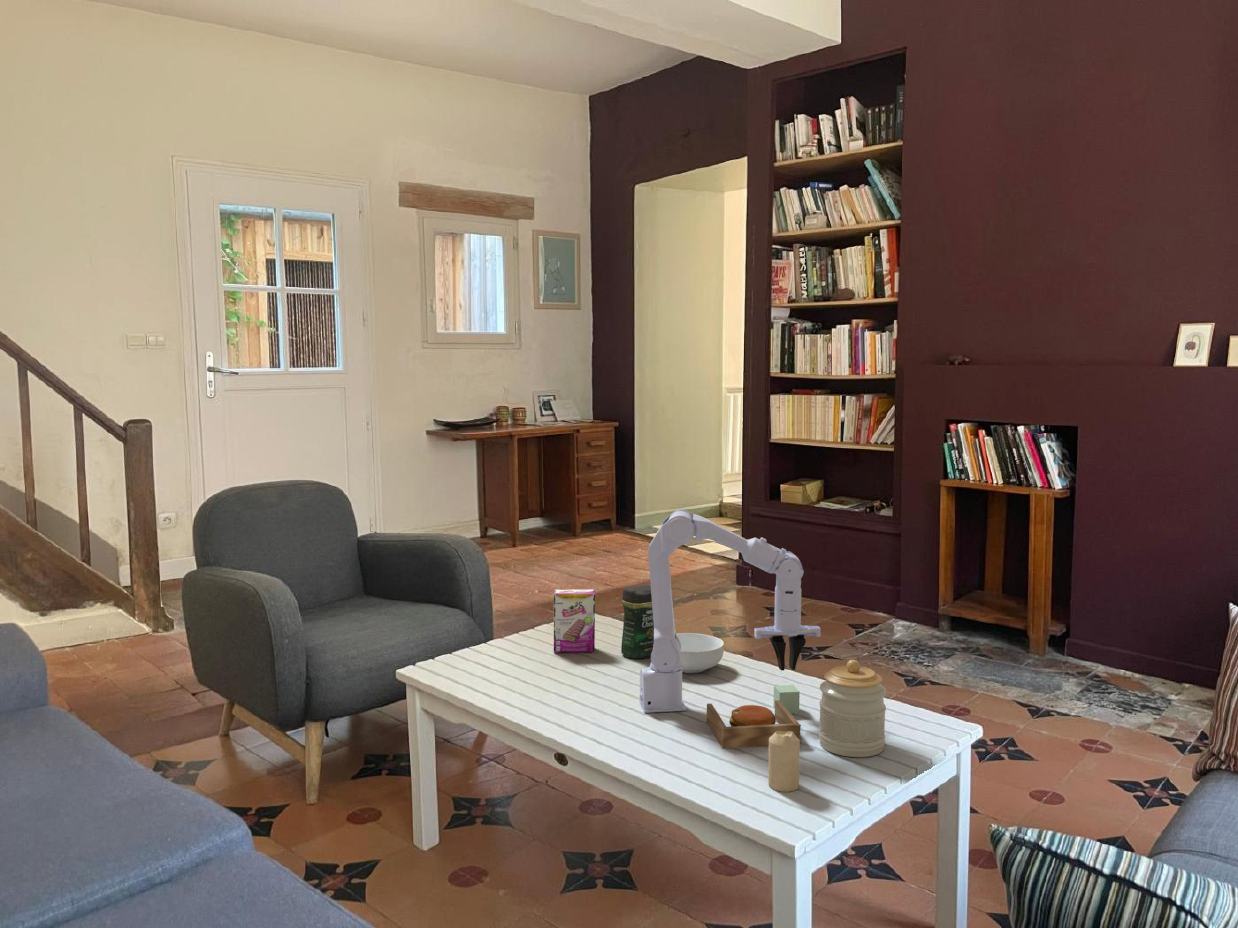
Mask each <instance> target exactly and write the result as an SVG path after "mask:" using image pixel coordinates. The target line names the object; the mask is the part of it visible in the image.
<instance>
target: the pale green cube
mask: <svg viewBox="0 0 1238 928" xmlns="http://www.w3.org/2000/svg"><path fill="white" fill-rule="evenodd" d="M800 697H801V696H800V690H799V689H798V688H797V687H796V685H794V684H785V685H782V684H781V685H780V684H779V685H773V709H775V700H780V702H781V703H782V704H783V705H784V706H785V707H786V709H787V710H788V711H789V712H790V713H791V714H792V715H793V714H794V715H796V714H800Z"/></svg>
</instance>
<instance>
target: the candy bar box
mask: <svg viewBox="0 0 1238 928" xmlns="http://www.w3.org/2000/svg"><path fill="white" fill-rule="evenodd" d="M595 591H596V590H595V589H593V588H592V589H591V588H589V589H554V591H553V653H554V654H563V653H565V654H569V653H595V651H596V650H595V649H596V648H595V644H596V640H595V639H596V633H595V631H596V629H595V628H596V626H595V625H596V619H595V618H596V592H595Z"/></svg>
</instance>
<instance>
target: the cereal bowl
mask: <svg viewBox="0 0 1238 928" xmlns="http://www.w3.org/2000/svg"><path fill="white" fill-rule="evenodd" d="M676 635H677V637H678V639H679V641H680V643H681V650H680V654H679V656H680V660H679V662H680V663H681V664H682V673H686V674H697V673H702V672H704V671H705V670H708V669H711V668H713V667H715V666H716V665H718V664H719V662H721V660H722V659H723V656H724V652H725V651H724V649H725V642H724V640H722V639H721V638H718V637H716V636H713V635H711V634H710V635H709V634H703V633H693V632H680V633H679V632H676Z"/></svg>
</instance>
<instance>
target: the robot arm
mask: <svg viewBox="0 0 1238 928" xmlns="http://www.w3.org/2000/svg"><path fill="white" fill-rule="evenodd" d="M694 536H695V540H694V541H695V542H699V541H703V540H711V541H713V542H715V543H718V544H720V545H722V546H724V547H727V548H729V549H731V550H733V551H735V552H738V553H740V554H741V555H742V559H743V561H744V562H746V563H748V564H750V565H752V566H754V567H756V568H759V569H760V570H763V571H764V572H766V573H768V574H775V576H776V577H775V587H774V620H773V621H774V625H772V626H771V625H770V626H764V627H754V630H753V631H754V632H753V637H754V638H755V639H756V640H761V639H764V638H765V639H767V638H768V639H769V641H770V643H771V645H772V647H773V650H774V653H775V655H776V659H777V665H778V668H779V669H778V670H780V671H785V670H786V669H785V668H786V664H785V662H786V661H785V659H786V658H785V654H786V647H787V643H786V641H785V639H784V638H788V646H789V655H788V659H789V660H788V666H789V667H788V668H789V669H791V671H795V670H796V667H797V662H798V659H799V656H800V655H801V652H802V650H803V649H804V646H805V645H806V643H807V641H806V640H807V639H806V638H805V637H812V636H813V637H817V638H821V637H822V635H821V630H822V629H821V627H820V626H818V625H802V623H801V622H802V587H801V585H802V580H801V579H802V578H803V576H804V573H805V572H804V571H805V570H804V568H803V565H802V563H801V560H800V559H799V557H798V556H797V555H795V554H794V553H793V552H792V551H787V549H785V548H783V547H782V548H778V547H776V546H774V545H772V544H770V543H768V542H767V539H766V538H764V537H760V539H759V538H757V537H753V538H748V539H746V538H745V537H742V536H741V535H739V534H738V533H735V532H733V531H731V530H729V529H728V528H725V527H723V526H722V525H720V524H718V523H716V522H714V521H712V520H710V519H707V518H706V517H704V516H701V515H699V514H695V513H691V512H690V511H688V510H685V509H677V510H675V511H673V512H671V513H670V514H669V515H668V516H666V518H664V519H663V521H662V523H661V525H660V527H659V528H658V530H657V532H656V533H655V535H654V537H653V538H652V539H651V541H650V544H649V545H648V548H647V549H648V550H647V554H648V555H647V556H648V557H647V558H648V569H649V581H650V585H651V596H652V608H653V621H654V644H653V651H652V653H651V656H650V661H651V662H650V664H649V666H648V667H643V668H640V671H639V703H640V705H641V708H642V710H643V712H644V713H645V714H647V713H666V712H686V711H687V710H688V709H687V706H686V705H685V703H684V702H683V672H682V664H681V663H680V662H679V660H680V656H679V654H680V650H681V643H680V641H679V639H678V637H677V635H676V634H677V632H676V631H677V630H676V625H675V615H674V604H673V603H674V602H673V590H672V576H671V575H672V574H671V564H670V556H671V555H672V554H673V553H674V551H676V550H677V549H678V548H679V547H681V546H684V545H685V544H687V543H689V542H691V540H692V539H693V537H694Z"/></svg>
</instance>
